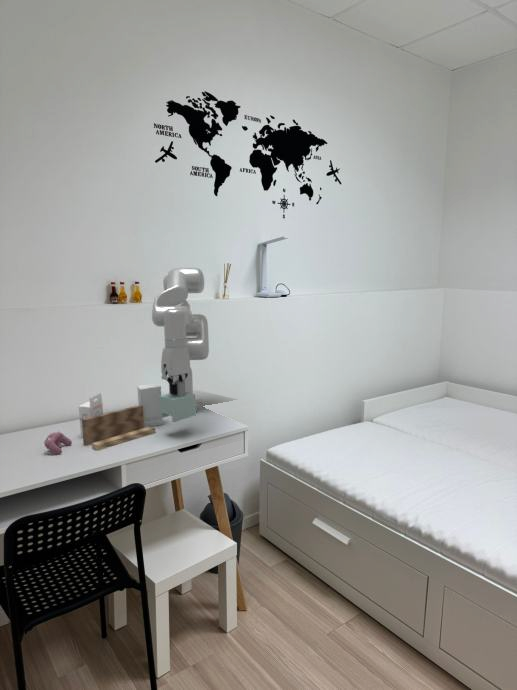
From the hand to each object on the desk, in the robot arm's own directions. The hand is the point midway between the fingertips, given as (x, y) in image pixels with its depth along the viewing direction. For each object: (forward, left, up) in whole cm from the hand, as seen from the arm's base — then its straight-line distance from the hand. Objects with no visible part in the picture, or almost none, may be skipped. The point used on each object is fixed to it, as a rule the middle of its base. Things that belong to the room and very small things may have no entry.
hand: (177, 393), depth 181 cm
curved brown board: (+16, -12, -15) cm, 26 cm away
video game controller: (+37, -19, -16) cm, 44 cm away
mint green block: (0, 0, -9) cm, 9 cm away
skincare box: (-1, -18, -16) cm, 24 cm away
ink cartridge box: (+20, -25, -16) cm, 36 cm away
